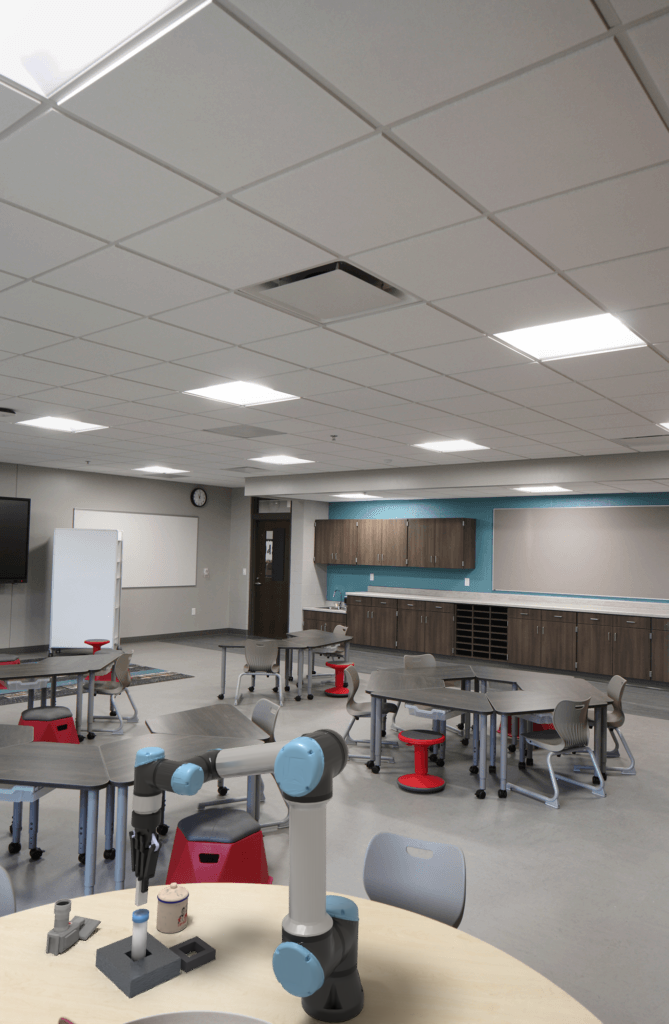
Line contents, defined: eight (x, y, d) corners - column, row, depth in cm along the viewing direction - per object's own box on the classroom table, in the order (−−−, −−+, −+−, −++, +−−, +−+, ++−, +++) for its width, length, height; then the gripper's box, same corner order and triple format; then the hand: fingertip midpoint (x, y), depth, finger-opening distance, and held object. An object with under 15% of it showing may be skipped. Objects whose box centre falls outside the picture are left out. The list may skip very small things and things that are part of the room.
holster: (215, 959, 173) (215, 949, 173) (186, 973, 167) (186, 962, 167) (196, 945, 179) (196, 935, 179) (167, 958, 173) (168, 948, 173)
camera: (41, 905, 176) (78, 882, 190) (37, 951, 174) (74, 925, 188) (68, 910, 173) (103, 886, 187) (64, 958, 172) (100, 930, 186)
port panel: (180, 974, 166) (181, 956, 166) (129, 998, 156) (130, 979, 156) (144, 945, 178) (145, 929, 179) (95, 965, 169) (96, 948, 169)
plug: (149, 970, 167) (152, 912, 169) (134, 977, 164) (137, 918, 166) (140, 963, 170) (144, 907, 172) (126, 970, 167) (129, 912, 169)
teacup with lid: (183, 934, 184) (185, 891, 186) (151, 933, 184) (154, 890, 186) (192, 913, 196) (194, 872, 198) (162, 912, 196) (164, 871, 198)
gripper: (172, 812, 170) (167, 908, 167) (147, 799, 179) (141, 890, 176) (146, 819, 164) (140, 918, 162) (121, 805, 173) (115, 899, 171)
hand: (141, 903), depth 169 cm, fingers closed
